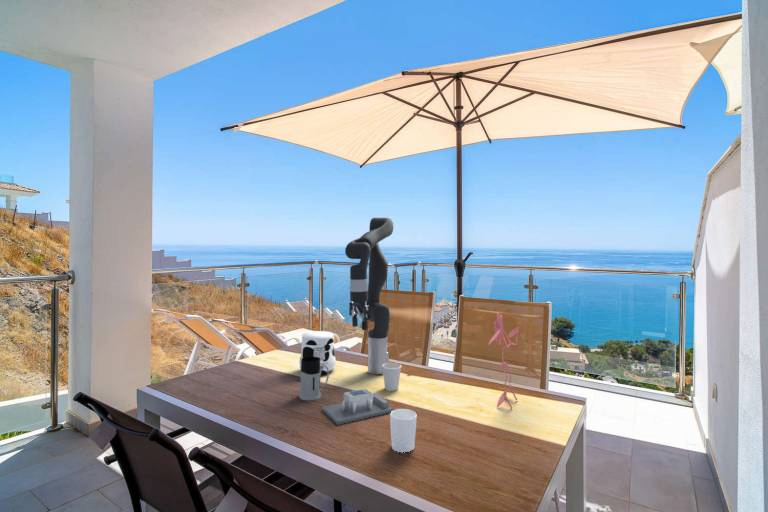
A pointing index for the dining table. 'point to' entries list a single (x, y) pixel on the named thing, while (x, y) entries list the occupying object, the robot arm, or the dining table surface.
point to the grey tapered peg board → (343, 416)
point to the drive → (357, 400)
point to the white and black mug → (311, 378)
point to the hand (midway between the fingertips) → (359, 328)
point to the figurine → (498, 337)
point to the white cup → (403, 429)
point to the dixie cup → (391, 375)
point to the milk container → (319, 348)
